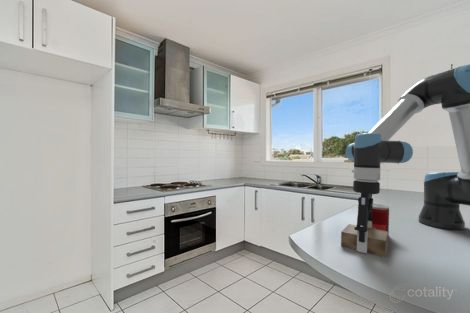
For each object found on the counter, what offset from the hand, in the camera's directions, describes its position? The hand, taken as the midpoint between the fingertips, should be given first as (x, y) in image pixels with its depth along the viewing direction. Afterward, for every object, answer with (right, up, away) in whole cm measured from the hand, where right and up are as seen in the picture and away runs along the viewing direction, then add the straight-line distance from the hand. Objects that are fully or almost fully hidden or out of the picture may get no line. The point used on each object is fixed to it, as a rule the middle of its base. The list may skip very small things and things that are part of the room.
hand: (364, 245), depth 74 cm
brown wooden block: (0, 0, 0) cm, 1 cm away
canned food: (+11, 0, +11) cm, 15 cm away
